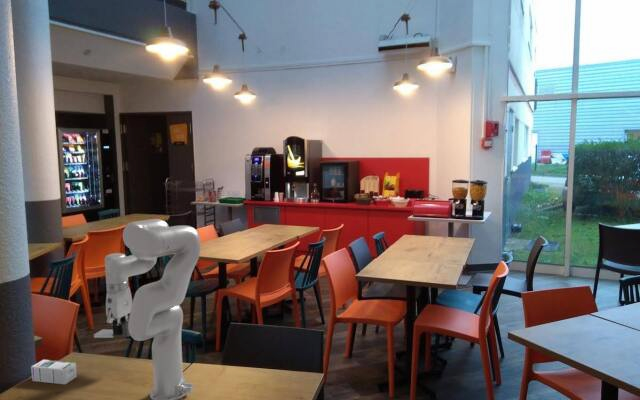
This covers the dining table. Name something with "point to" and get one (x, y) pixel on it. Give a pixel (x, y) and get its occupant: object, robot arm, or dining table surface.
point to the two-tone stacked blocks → (109, 332)
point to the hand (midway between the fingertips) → (120, 332)
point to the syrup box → (54, 371)
